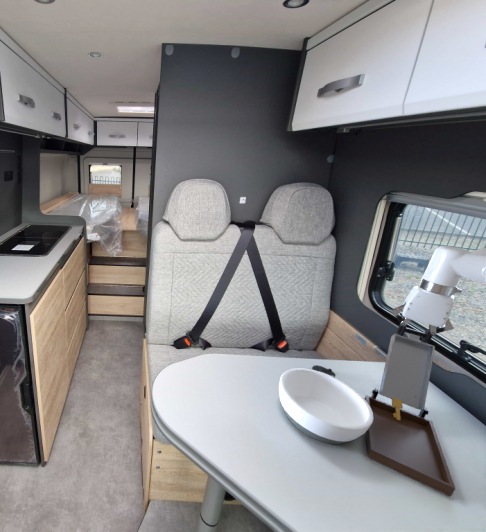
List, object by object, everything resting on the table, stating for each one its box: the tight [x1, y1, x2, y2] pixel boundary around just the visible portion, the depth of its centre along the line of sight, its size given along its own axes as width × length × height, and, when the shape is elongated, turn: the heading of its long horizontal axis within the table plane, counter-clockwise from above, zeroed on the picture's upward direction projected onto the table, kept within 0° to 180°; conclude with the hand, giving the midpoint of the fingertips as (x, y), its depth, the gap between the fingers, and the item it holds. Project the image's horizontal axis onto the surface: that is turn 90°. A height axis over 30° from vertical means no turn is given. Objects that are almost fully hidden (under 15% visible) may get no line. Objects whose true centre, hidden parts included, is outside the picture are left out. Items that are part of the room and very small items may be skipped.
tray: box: [364, 394, 456, 497], centre depth 82 cm, size 24×16×3 cm, turn 146°
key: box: [390, 398, 404, 421], centre depth 90 cm, size 6×2×1 cm
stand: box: [370, 387, 430, 418], centre depth 92 cm, size 2×13×5 cm, turn 56°
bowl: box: [278, 367, 374, 445], centre depth 86 cm, size 22×22×8 cm
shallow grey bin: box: [378, 327, 436, 411], centre depth 94 cm, size 23×10×3 cm
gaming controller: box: [311, 364, 337, 378], centre depth 103 cm, size 10×5×6 cm
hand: (411, 338), depth 98 cm, fingers closed on shallow grey bin, 5 cm apart
